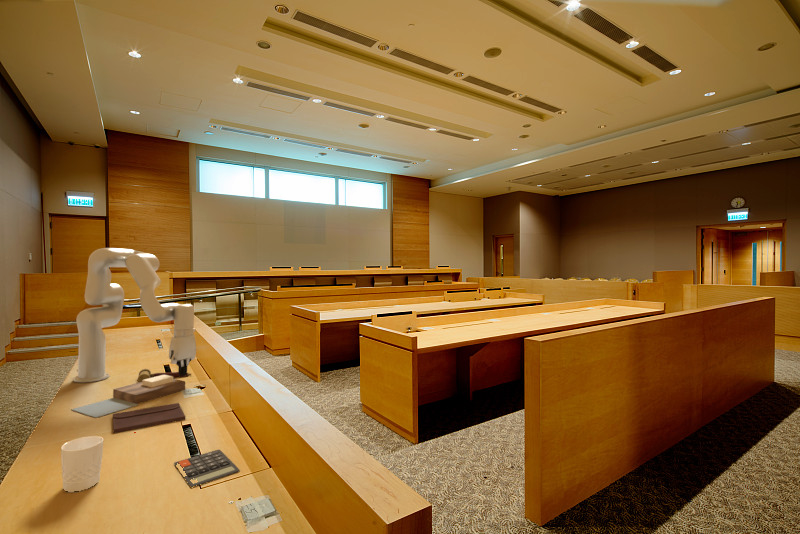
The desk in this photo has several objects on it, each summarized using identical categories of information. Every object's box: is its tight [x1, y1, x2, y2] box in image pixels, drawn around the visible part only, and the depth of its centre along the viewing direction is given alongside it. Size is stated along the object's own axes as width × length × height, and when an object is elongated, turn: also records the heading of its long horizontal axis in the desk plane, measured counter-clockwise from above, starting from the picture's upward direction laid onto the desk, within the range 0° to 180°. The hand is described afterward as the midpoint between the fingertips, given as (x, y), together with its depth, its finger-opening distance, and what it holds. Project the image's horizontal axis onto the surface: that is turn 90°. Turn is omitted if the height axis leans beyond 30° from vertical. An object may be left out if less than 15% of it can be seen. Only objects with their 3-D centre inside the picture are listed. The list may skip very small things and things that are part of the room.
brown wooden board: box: [112, 378, 186, 405], centre depth 158 cm, size 14×20×4 cm
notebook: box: [112, 402, 186, 434], centre depth 133 cm, size 15×20×2 cm
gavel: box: [136, 368, 192, 383], centre depth 179 cm, size 21×5×10 cm
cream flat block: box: [142, 375, 174, 387], centre depth 160 cm, size 6×9×2 cm, turn 155°
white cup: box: [60, 435, 104, 493], centre depth 93 cm, size 8×8×10 cm
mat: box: [71, 397, 139, 419], centre depth 142 cm, size 15×14×1 cm
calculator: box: [174, 449, 241, 488], centre depth 103 cm, size 12×1×15 cm
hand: (182, 374), depth 170 cm, fingers closed
